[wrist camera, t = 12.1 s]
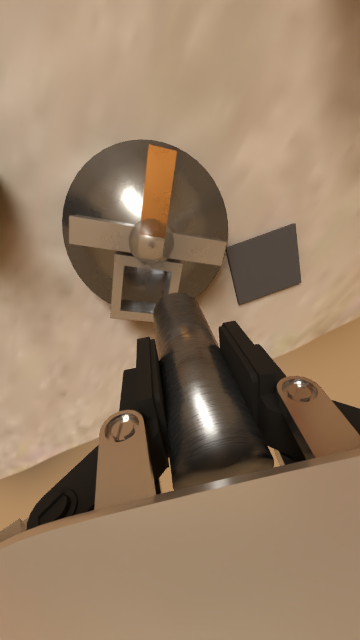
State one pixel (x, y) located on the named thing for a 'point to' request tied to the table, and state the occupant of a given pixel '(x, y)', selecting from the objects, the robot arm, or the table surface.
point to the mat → (265, 264)
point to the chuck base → (125, 206)
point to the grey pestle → (202, 400)
